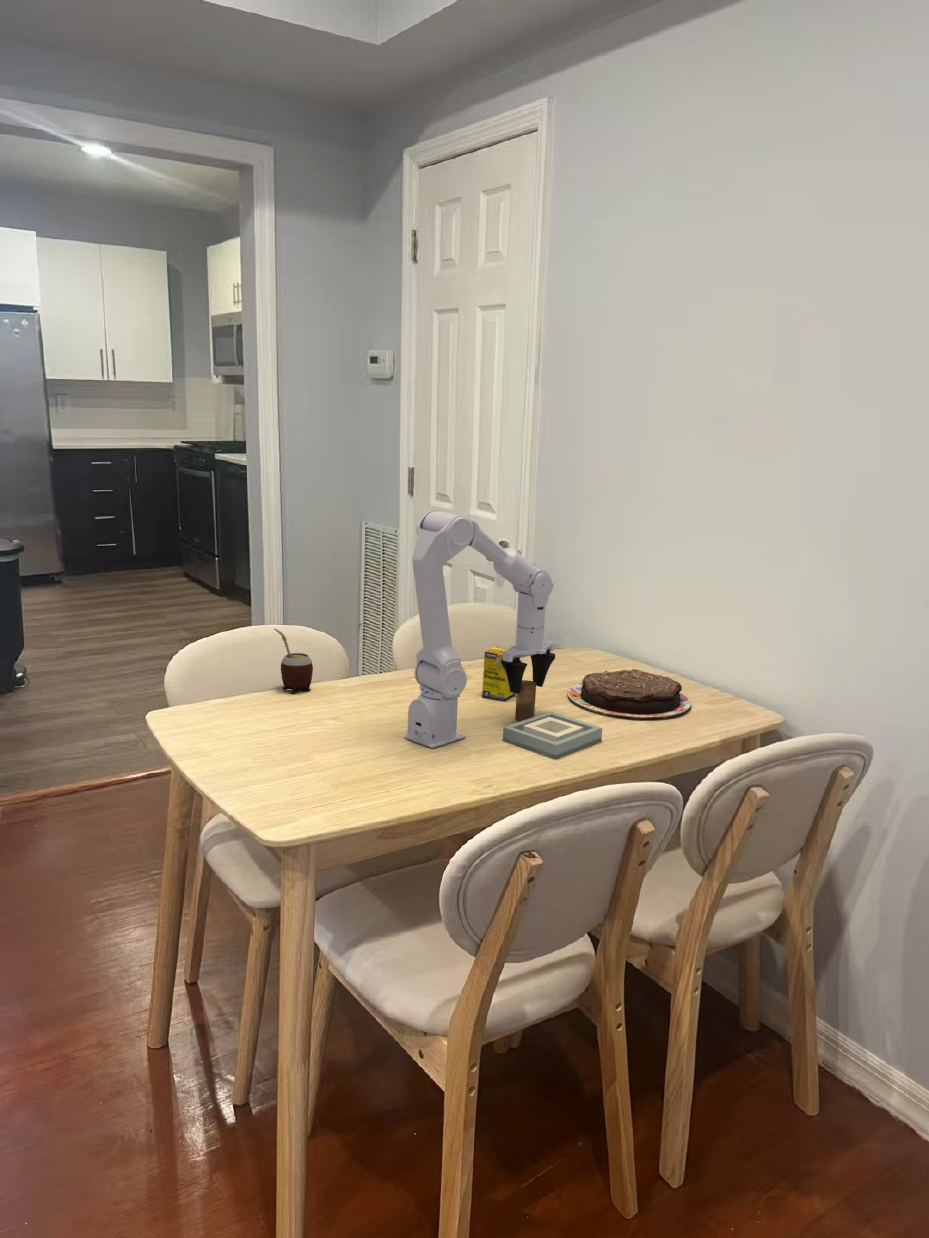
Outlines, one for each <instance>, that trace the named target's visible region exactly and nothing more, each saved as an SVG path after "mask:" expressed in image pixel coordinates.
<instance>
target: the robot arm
mask: <svg viewBox="0 0 929 1238" xmlns="http://www.w3.org/2000/svg"><path fill="white" fill-rule="evenodd" d="M415 528H416V536H417V538H416V541H415V546H414V549H413V554H412V557H411V560H412V569H413V578H414V584H415V585H414V586H415V587H414V588H415V592H416V593H415V595H416V601H417V610H418V616H419V624H420V625H419V626H420V632H421V639H422V640H421V641H422V648H421V649H420V650H419V651H417V653H415V654H416V656H415V657H416V664H415V667H414V674H413V675H414V679H415V681H416V683H417V684H419V691H420V694H419V696H418V697H417V698H416V699H414V700H412V701H411V702H410V704H409V706H408V710H407V734H404V738H405V739H407V740H410V741H413V742H415V743H417V744H420V745H423V746H425V747H427V748H430V749H431V748H432V749H434V748H435V749H436V748H437V747H441V746H444V745H447V744H450V743H453V742H456V741H459V740H461V739H465V738H466V737H467V736H466V735H465V734H463V733H461V732H458V731H457V728H458V727H457V726H458V725H457V724H458V707H459V706H458V704H459V703H458V702H459V701H458V700H459V697H461V694H462V692H463V691H464V690H465V688H466V685H467V681H468V680H467V679H468V678H467V673H466V670H465V669H464V667H463V666H462V662H461V657H460V655H459V654H458V653H457V652H456V650H455V648H454V647H453V644H452V636H451V635H452V634H451V628H450V618H449V610H448V601H447V593H446V586H445V584H446V582H445V576H444V566H445V565H446V564H447V563H448V562H449V561H451V559H453V558H454V557H455V556H456V555H458V554H459V553H460V552H462V551H463V550H465V548H466V547H471V548H472V549H474V550H475V551H477V552H478V553H479V554H481V555H483V556H484V557H485V558H487V559H488V560H490V561H491V562H493V563H492V564H493V570H494V572H495V573H497V574H498V575H500V576H501V577H502V578H503V579H505V580H506V581H507V582H509V583H510V584H511V585H512V588H513V590H514V592H516V593H517V594H518V595H517V610H516V611H517V612H516V613H517V614H516V631H515V644H514V645H512V646H511V647H509V648H508V650H505V651H503V658H501V664H502V665H503V667H504V669H505V672H506V675H507V678H508V682H509V687H510V692H513V693H516V694H519V693H520V691H521V685H522V680H523V678H524V673H525V671H526V668H527V666H528V663H526V662H523V661H522V660H521V659H523V658H526V657H530V659H531V667H532V668H531V669H532V681H533V682H536V687H539V688H541V687H544V683H545V680H546V677H547V675H548V671H549V669H550V667H551V666H552V664H553V662H554V661H555V659H556V654H555V653H553V652H554V649H555V642H554V641H551V640H544V638H545V636H544V634H545V623H546V619H545V618H546V606H547V604H548V603H549V597H550V595H551V593H552V591H553V589H554V583H553V581H552V578H551V576H550V574H549V573H548V572H547V571H546V570H543V569H538V568H537V566H536V562H534V561H532V560H528V559H527V558H526V557H524V556H523V555H522V554H523V552H522V551H521V550H520V549H519V548H516V547H515V548H514V547H513V548H512V547H506V548H504V547H502V545H501V544H499V543H498V542H497V541H496V540H495V539H494V538H493V537H492V536H491V535H489V533H487V532H486V531H485V530H484V529H482V527H480V525H479V524H478V522H476V521H474V520H472V519H471V518H470V517H469V516H467V515H464V514H454V513H449V512H446V511H445V512H444V511H441V510H439V509H438V510H437V509H431V510H429V511H427V512H426V513H424V515H423V516H422V518H420V519H419V521H418V522H417V523H416V525H415Z"/></svg>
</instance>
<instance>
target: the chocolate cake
mask: <svg viewBox="0 0 929 1238" xmlns="http://www.w3.org/2000/svg"><path fill="white" fill-rule="evenodd" d="M682 690H683V686H682V684H681V683H680V682H678V681H676V680H674V679H672V678H671V677H669V676H663V675H658V674H656V673H655V674H654V673H652V672H646V671H642V670H639V669H635V668H632V669H630V670H629V669H622V670H617V671H607V670H605V671H603V672H592V673H587V674H585V676H584V677H583V679H582V681H581V682H580V683H578V684H576V685H573V686H571V687H570V688H569V689H568V690H567V691H566V694H567V696H568V698H569V700H570V702H571V703H572V705H573V706H576V707H578V708H581V709H584V710H586V711H590V712H593V713H596V714H599V715H601V716H606V717H618V718H627V719H631V720H635V721H643V720H649V719H657V718H658V719H659V718H660V719H664V720H667V719H672V718H675V717H678V716H681V715H683V714H685V713H686V712H688V710H689V709H691V706H692V701H691V700H690V699H689V697H688V696H687V695H685V694H684V693H681V691H682Z"/></svg>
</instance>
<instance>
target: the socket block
mask: <svg viewBox="0 0 929 1238" xmlns="http://www.w3.org/2000/svg"><path fill="white" fill-rule="evenodd" d="M523 731H524V732H527V733H530V734H533V735H536V736H539V737H542V738H545V739H548V740H551V741H554V742H557V741H559V740H562V739H565V738H567V737H570V736H573V735H576V734H578V733H581V732H583V727H580V726H577V725H574V724H571V723H567V722H564V721H561V720H558V719H555V718H552V717H547V718H544V719H541V720H539V721H536V722H533V723H530V724H527V725H524V726H523ZM551 731H553V732H551ZM554 732H556V733H554Z"/></svg>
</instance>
